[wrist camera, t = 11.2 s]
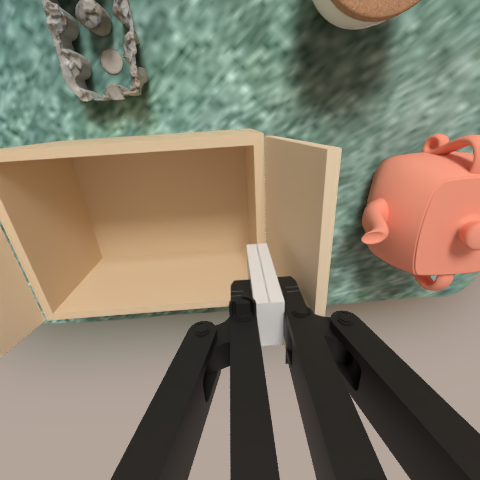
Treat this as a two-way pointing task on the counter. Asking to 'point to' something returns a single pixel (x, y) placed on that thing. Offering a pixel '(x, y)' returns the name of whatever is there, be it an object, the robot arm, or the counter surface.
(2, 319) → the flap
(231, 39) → the counter surface
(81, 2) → the egg carton
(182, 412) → the robot arm
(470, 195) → the teapot
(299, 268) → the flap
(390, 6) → the lidded jar
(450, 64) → the counter surface
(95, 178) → the carton
